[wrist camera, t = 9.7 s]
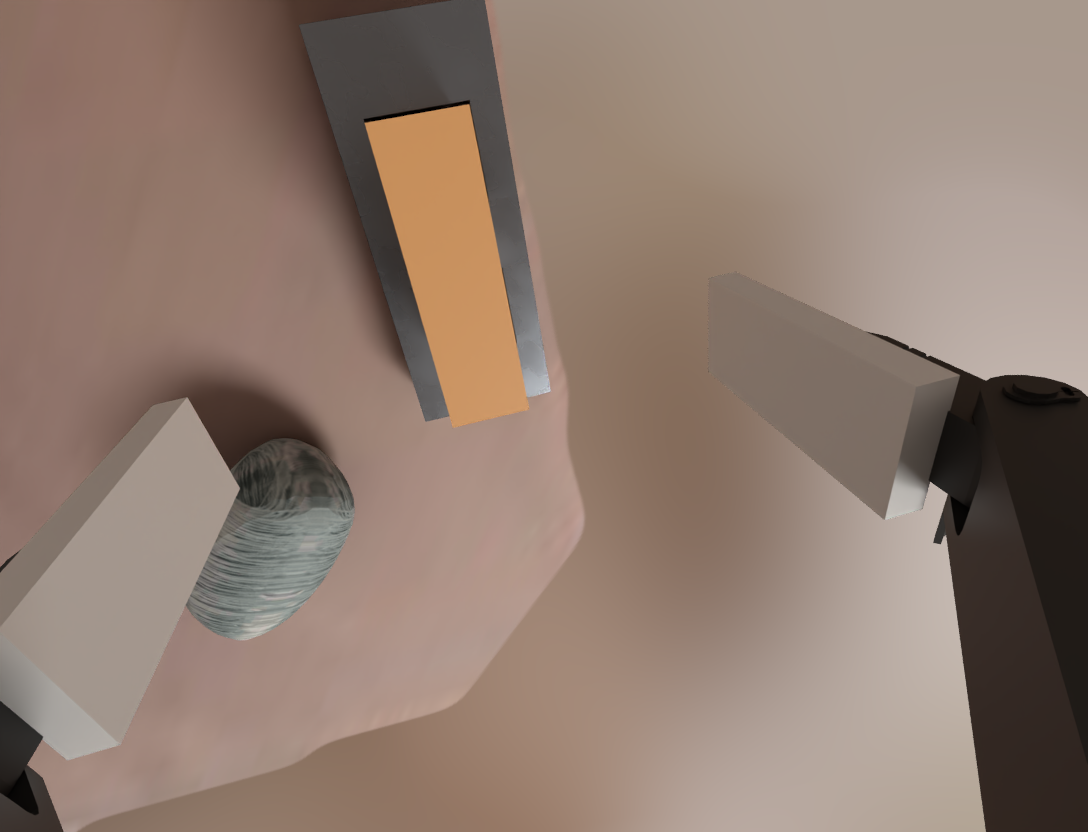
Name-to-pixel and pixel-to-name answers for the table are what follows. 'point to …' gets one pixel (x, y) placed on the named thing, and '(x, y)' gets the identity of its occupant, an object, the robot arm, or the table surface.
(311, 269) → the table surface
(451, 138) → the wooden arch block
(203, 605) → the spool
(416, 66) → the cinder block
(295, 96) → the table surface
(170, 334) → the table surface
